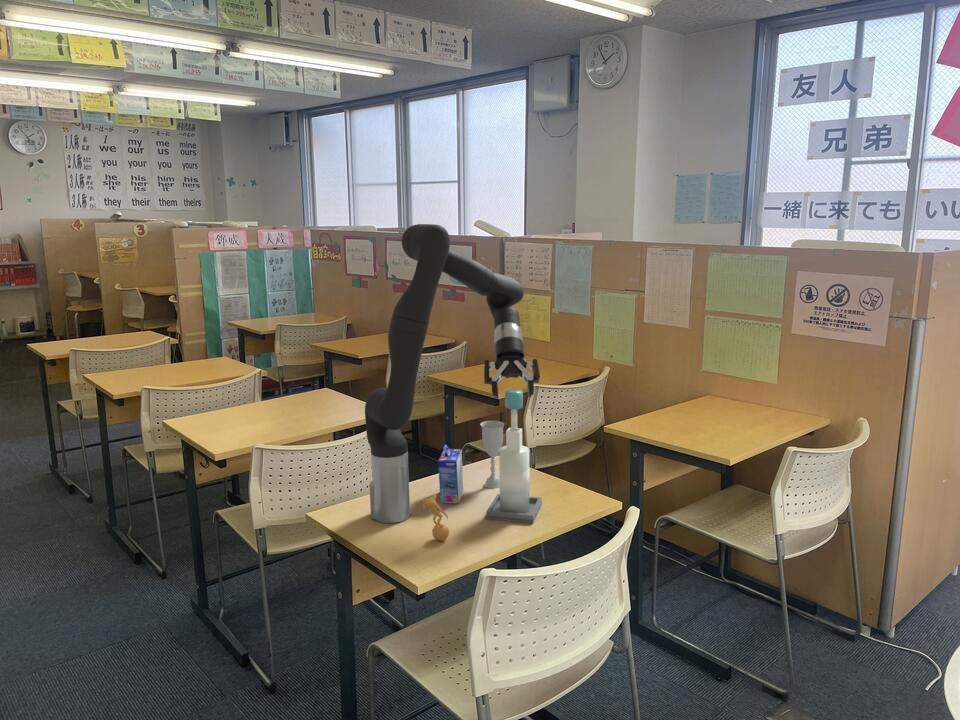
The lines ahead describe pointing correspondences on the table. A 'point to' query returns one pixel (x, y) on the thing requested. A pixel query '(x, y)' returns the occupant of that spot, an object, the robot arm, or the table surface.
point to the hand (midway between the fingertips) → (513, 396)
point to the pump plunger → (514, 404)
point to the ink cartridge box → (450, 475)
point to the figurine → (439, 530)
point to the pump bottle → (514, 483)
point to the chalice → (492, 447)
